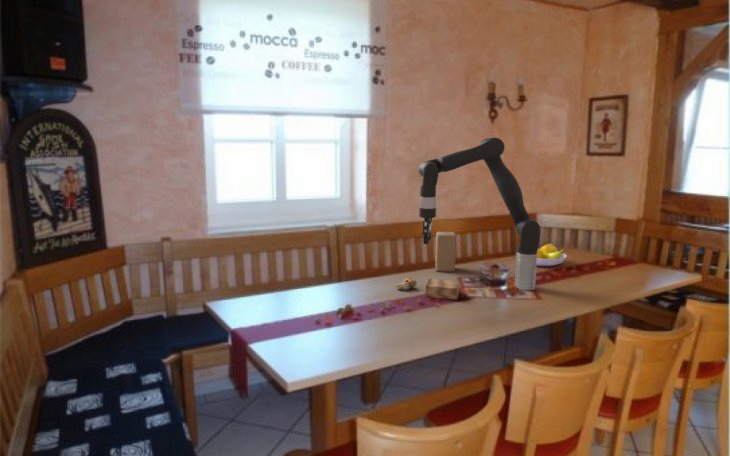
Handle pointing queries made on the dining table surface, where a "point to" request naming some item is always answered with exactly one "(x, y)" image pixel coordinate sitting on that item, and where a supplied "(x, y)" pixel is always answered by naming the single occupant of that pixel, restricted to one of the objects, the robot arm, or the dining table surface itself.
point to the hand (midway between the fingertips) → (427, 242)
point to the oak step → (442, 289)
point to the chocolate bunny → (407, 284)
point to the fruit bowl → (549, 256)
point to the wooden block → (445, 251)
